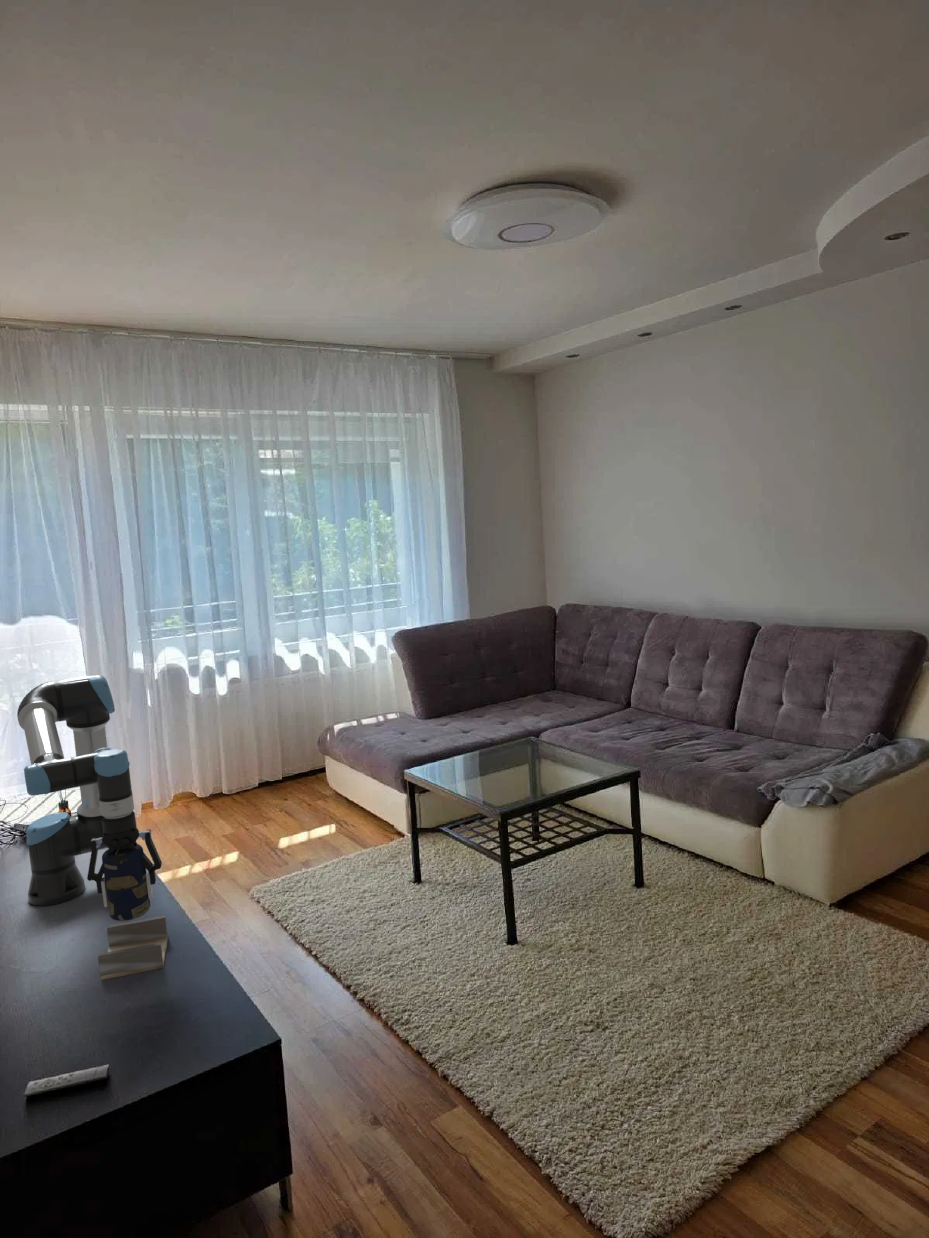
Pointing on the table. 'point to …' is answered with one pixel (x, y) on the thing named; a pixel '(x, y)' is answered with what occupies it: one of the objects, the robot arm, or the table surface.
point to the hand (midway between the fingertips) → (128, 900)
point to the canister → (126, 884)
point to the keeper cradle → (134, 947)
